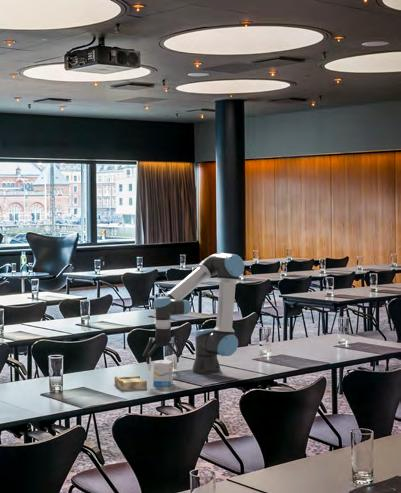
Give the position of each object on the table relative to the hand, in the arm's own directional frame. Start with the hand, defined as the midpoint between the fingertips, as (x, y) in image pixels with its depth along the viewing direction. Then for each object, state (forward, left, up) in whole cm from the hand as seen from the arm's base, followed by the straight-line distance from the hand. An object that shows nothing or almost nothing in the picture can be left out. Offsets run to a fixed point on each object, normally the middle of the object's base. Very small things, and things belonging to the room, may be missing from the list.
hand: (162, 369), depth 454 cm
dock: (+17, 0, -8) cm, 18 cm away
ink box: (0, 0, -8) cm, 8 cm away
